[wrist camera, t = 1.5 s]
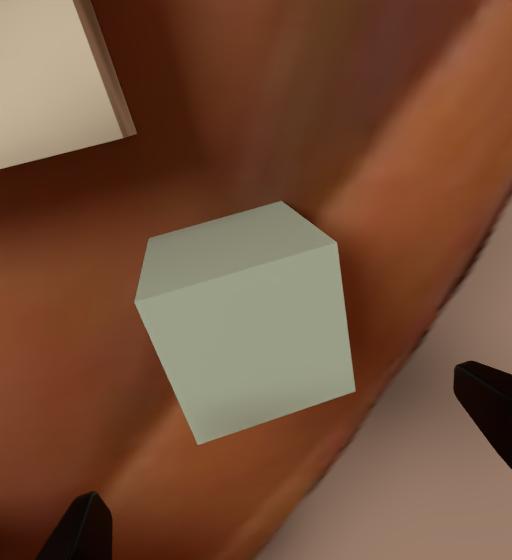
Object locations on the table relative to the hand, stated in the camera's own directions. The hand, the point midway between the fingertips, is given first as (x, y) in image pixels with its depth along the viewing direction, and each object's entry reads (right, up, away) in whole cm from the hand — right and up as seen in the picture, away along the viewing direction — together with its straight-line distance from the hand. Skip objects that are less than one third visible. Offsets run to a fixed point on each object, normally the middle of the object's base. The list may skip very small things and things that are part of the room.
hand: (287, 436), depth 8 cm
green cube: (-2, +4, +8) cm, 9 cm away
